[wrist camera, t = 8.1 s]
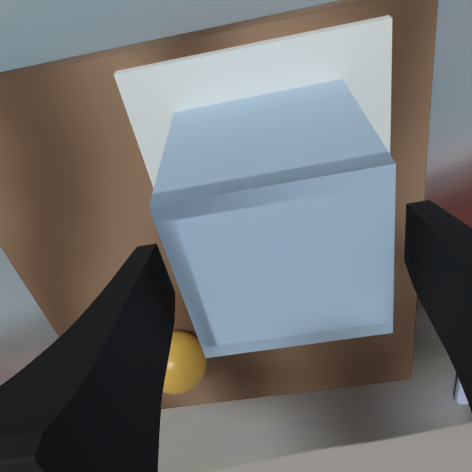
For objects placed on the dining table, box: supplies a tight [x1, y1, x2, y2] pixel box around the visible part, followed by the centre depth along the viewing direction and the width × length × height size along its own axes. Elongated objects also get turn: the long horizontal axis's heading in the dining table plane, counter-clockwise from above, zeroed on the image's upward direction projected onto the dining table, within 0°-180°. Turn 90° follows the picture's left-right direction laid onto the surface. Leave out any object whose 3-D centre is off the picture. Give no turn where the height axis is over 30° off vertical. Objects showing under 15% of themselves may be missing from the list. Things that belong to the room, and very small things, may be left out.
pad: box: [114, 15, 392, 188], centre depth 17 cm, size 9×9×1 cm
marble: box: [163, 331, 207, 395], centre depth 22 cm, size 3×3×3 cm
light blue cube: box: [149, 79, 396, 358], centre depth 14 cm, size 6×6×6 cm
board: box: [0, 0, 438, 409], centre depth 21 cm, size 18×20×1 cm
